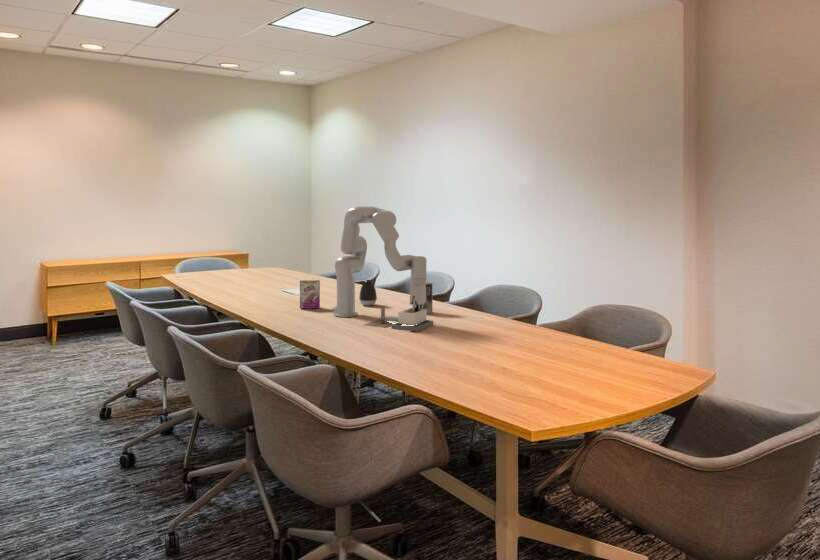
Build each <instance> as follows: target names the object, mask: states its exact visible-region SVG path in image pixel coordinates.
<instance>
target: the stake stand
mask: <svg viewBox="0 0 820 560" xmlns="http://www.w3.org/2000/svg"><path fill="white" fill-rule="evenodd" d="M385 320H386V308H380V319H376V320H374V321H371V322H368V323H365V324H363V326H367V327H373V328H374V327H375V328H384V329H387V328H390V327H391V325H393V324H392V323H389V322H387V321H385Z"/></svg>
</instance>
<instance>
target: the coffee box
mask: <svg viewBox="0 0 820 560" xmlns="http://www.w3.org/2000/svg"><path fill="white" fill-rule="evenodd" d="M416 304H417V303H416ZM423 309H427V315H428V314H429V315H430V314H431V315H432V314H433V283H430V282H426V302H425V303H424V305H423Z"/></svg>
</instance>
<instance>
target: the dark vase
mask: <svg viewBox="0 0 820 560" xmlns="http://www.w3.org/2000/svg"><path fill="white" fill-rule="evenodd" d="M358 283H359V284H361V287H360V291H359V297H358V298H359V302H360V304H361V305H363V306H364V305H365V307H372V306H374V305H375V304H376V301H377V300H378V298H377V290H376V287H375V285H374V283H373V281H372V280H371V279H365V280H364V281H361V280H359V282H358ZM371 305H372V306H371Z"/></svg>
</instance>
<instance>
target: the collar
mask: <svg viewBox="0 0 820 560" xmlns="http://www.w3.org/2000/svg"><path fill="white" fill-rule="evenodd" d="M427 315H428V314H427V309H420V311H418V312H415V313H414V308H413V307H410V308H407V309H403V310H401V311H399V312H398V313H397V316H398V320H397V321H398V324H406V325H416V324H419V323H421V322H423V321H426V320H427Z"/></svg>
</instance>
